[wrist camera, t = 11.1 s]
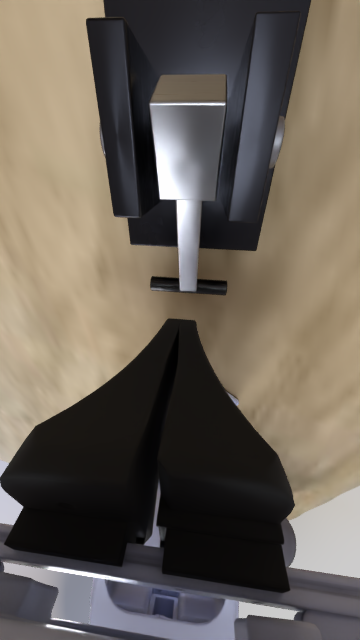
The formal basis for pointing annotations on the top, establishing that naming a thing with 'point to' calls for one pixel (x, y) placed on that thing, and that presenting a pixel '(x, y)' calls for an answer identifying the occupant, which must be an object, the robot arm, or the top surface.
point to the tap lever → (188, 164)
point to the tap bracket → (196, 59)
